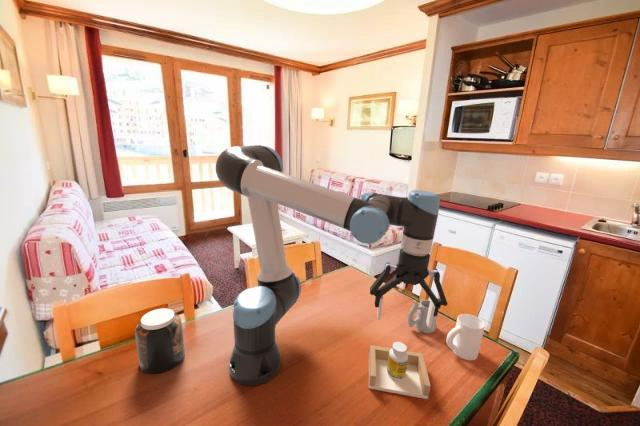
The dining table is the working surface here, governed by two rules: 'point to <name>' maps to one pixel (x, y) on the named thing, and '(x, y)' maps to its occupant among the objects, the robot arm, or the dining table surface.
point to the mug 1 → (421, 317)
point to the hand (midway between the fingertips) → (403, 320)
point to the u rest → (409, 385)
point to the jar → (159, 341)
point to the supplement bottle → (397, 361)
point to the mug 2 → (466, 336)
